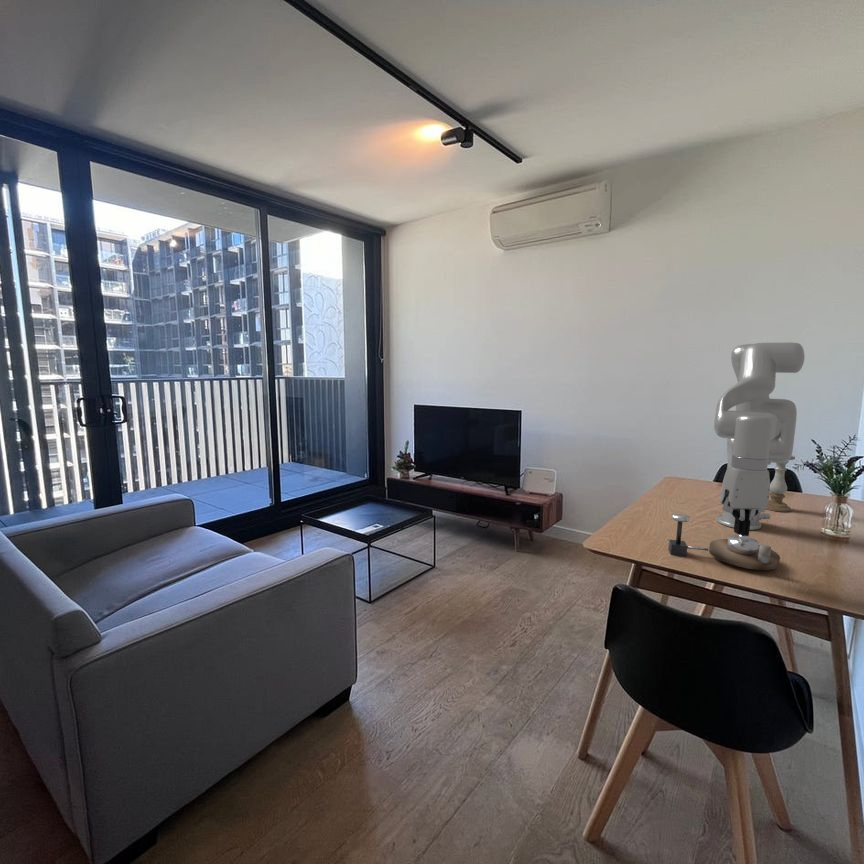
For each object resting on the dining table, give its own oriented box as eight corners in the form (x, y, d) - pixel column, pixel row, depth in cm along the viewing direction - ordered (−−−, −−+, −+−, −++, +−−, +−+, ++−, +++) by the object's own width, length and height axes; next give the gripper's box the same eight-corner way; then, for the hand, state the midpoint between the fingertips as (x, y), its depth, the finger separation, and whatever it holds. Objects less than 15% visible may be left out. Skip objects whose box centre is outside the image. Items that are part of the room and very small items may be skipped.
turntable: (749, 544, 135) (751, 525, 135) (795, 569, 119) (798, 547, 119) (696, 545, 134) (698, 526, 133) (736, 570, 118) (739, 549, 118)
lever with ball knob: (670, 554, 131) (673, 517, 129) (667, 548, 135) (670, 512, 133) (709, 559, 128) (713, 521, 126) (705, 553, 132) (709, 516, 130)
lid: (743, 545, 130) (745, 529, 130) (764, 555, 123) (766, 539, 123) (721, 546, 130) (722, 530, 129) (740, 556, 123) (742, 540, 122)
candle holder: (794, 513, 167) (801, 458, 164) (765, 510, 170) (772, 456, 167) (784, 506, 175) (791, 453, 172) (757, 503, 178) (763, 452, 175)
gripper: (765, 461, 120) (757, 529, 123) (710, 460, 119) (703, 529, 122) (789, 467, 113) (780, 539, 115) (731, 466, 112) (723, 539, 114)
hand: (741, 534), depth 118 cm, fingers closed
